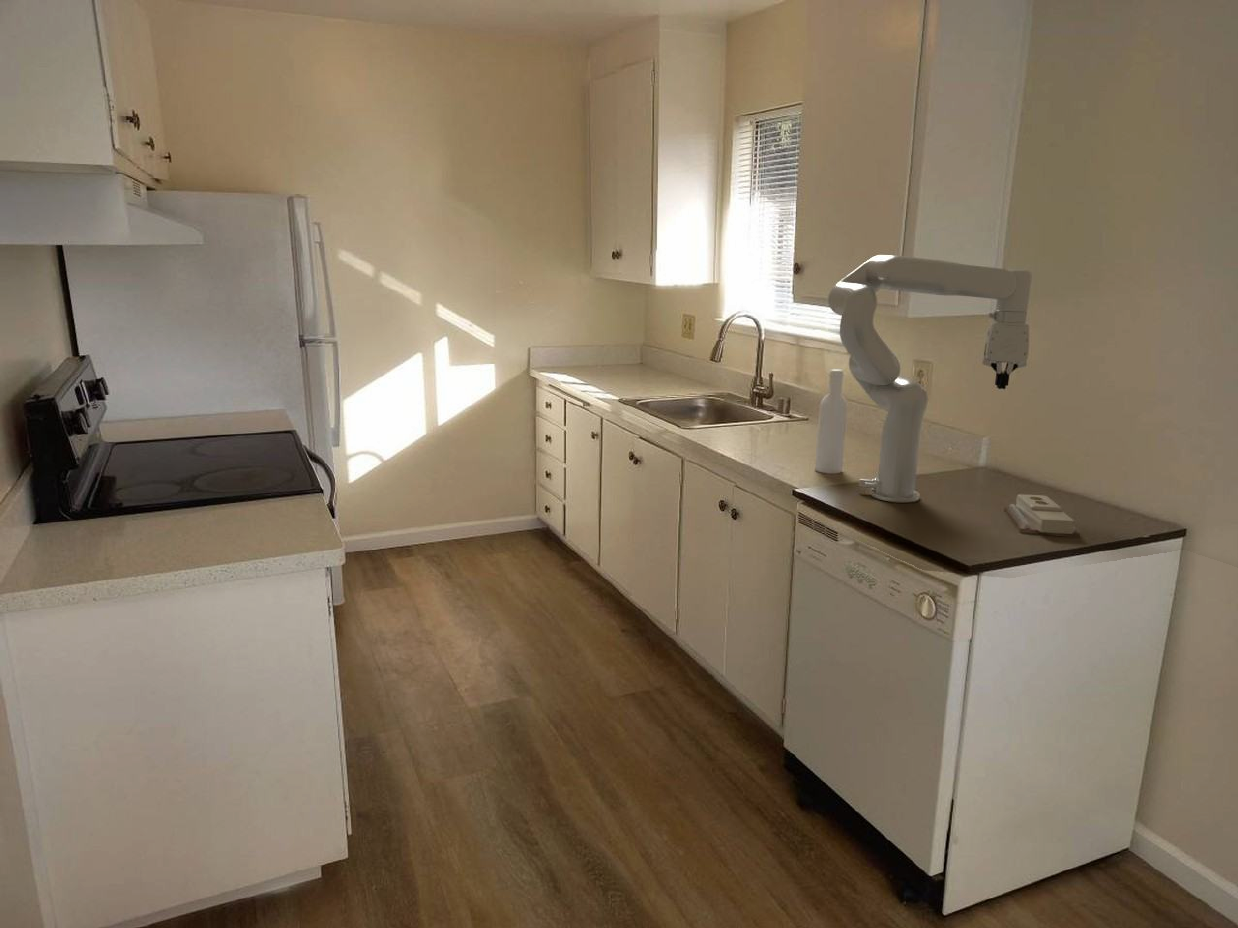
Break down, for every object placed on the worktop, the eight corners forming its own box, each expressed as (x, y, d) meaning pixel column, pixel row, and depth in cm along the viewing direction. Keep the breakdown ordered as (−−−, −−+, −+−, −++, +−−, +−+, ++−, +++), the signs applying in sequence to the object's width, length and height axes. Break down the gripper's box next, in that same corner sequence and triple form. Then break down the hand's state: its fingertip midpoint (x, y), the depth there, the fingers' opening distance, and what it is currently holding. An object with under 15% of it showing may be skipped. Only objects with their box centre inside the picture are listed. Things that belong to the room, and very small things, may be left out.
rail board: (1019, 532, 203) (1020, 524, 203) (1004, 510, 220) (1005, 502, 220) (1079, 537, 200) (1080, 529, 200) (1059, 514, 217) (1060, 507, 217)
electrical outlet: (1042, 515, 200) (1016, 493, 217) (1040, 532, 201) (1014, 509, 218) (1075, 517, 199) (1046, 495, 216) (1072, 533, 200) (1044, 510, 217)
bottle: (816, 466, 261) (824, 367, 253) (843, 468, 258) (852, 369, 250) (813, 472, 253) (821, 370, 246) (840, 475, 251) (849, 372, 243)
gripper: (982, 318, 221) (973, 389, 225) (1044, 320, 218) (1034, 392, 222) (977, 316, 228) (968, 384, 232) (1037, 318, 225) (1028, 387, 229)
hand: (1000, 388), depth 227 cm, fingers closed
